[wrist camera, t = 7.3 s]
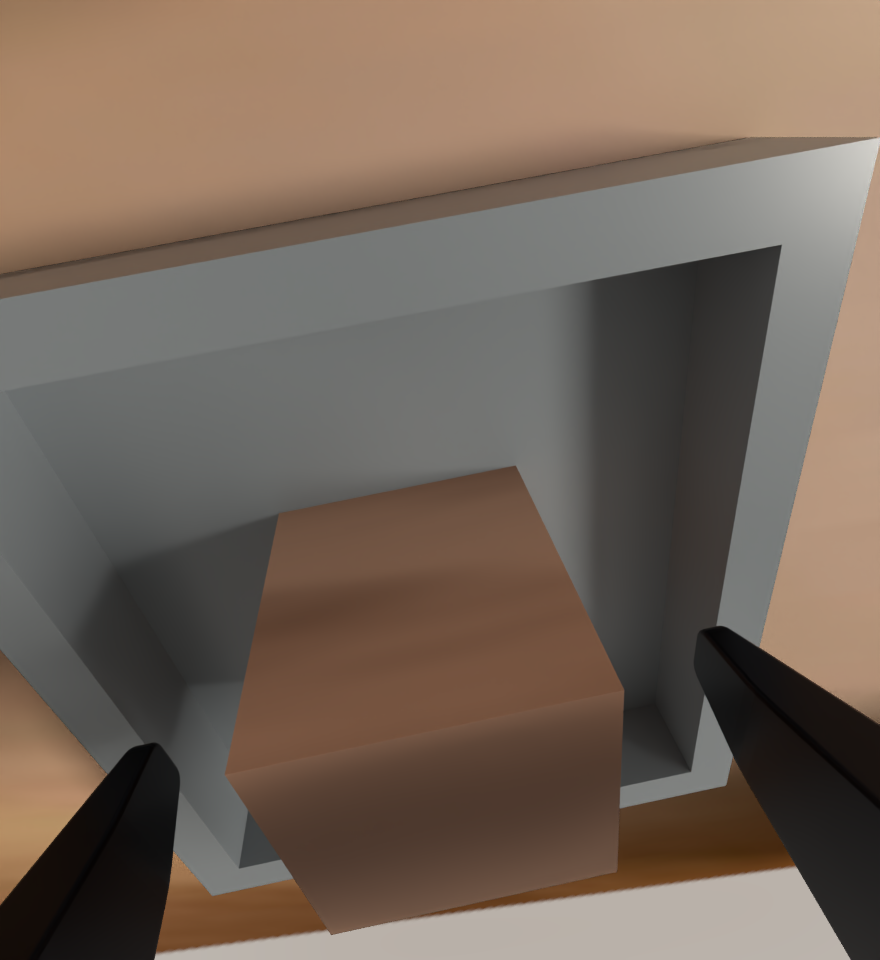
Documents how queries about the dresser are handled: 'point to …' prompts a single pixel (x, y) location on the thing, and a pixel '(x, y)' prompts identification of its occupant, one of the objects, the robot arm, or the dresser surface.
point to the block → (427, 705)
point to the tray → (420, 433)
